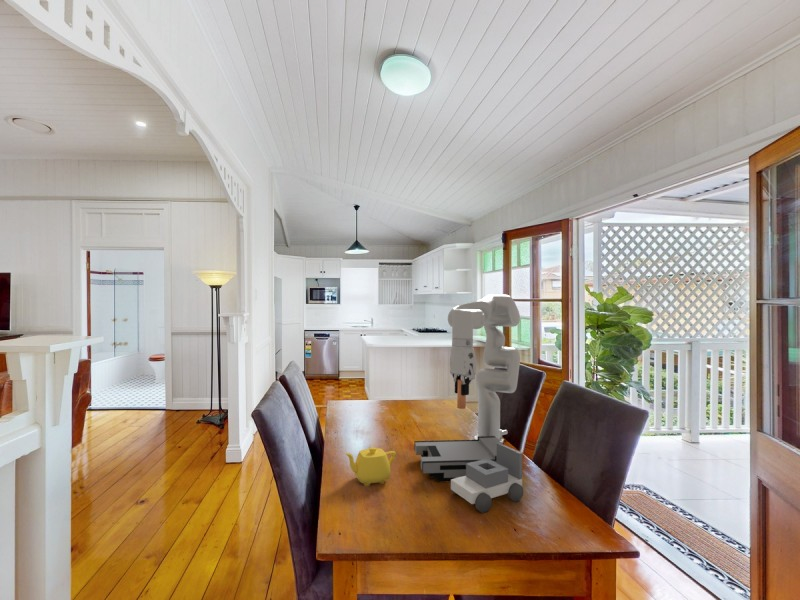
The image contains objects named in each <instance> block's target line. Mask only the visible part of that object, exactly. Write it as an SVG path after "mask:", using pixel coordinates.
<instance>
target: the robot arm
mask: <svg viewBox="0 0 800 600" xmlns="http://www.w3.org/2000/svg"><path fill="white" fill-rule="evenodd" d="M520 320H521V316H520V311H519V309H518V307H517V305H516V302H515V300H514V298H513V297H512V296H511V295H508V294H487V295H484V296H483V297H481V298H480V299H478V300H477V301H471V302H467V303H464V304H463V303H462V304H459V305H456V306H454V307H453V308H451V309H450V311H449V312H448V316H447V323H448V325H449V326H450V328H451V331H452V332H451V350H450V359H449V374H450V375H451V376H452V378H453V382H454V394H457V391H458V380H459V379H462V384H461V395H466V396H469V395H470V384H471V382H472V381H473V380H476V387H477V434H476V435H474V437H473V440H478V437H480V436H495V437H496V438H497V439H498V440H499V441H500V442H501V443H502V444H503V443H504V440H505V439H504V437H503V436H504V435H508V433H509V432H508V430H507V429H501V401H500V397H499V395H498V394H497V393H498V392H499V393H506V394H513V393H515V392H516V390H517V387H518V381H519V375H520V374H519V371H520V365H521V364H520V363H521V356H520V352H519V350H518V349H517V348H515V347H509V346H505V344H506V337H505V334H504V333H503V332H502V330H501V329H500V328H499V327H505V328H506V327H508V328H509V327H510V328H512V327H513V328H514V327H516V326H518V325H519V323H520V322H521V321H520ZM482 328H483V329H484V331H485V337H486V338H485V345H484V350H483V358H482V360H483V363H484V366H487V367H489V368H487V367H486V368H481V369H479V370H478V371H477V361H476V360H477V358H476V353H475V351H476V350H475V348H474V339H473V338H474V330H479V329H482ZM496 392H497V393H496Z"/></svg>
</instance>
